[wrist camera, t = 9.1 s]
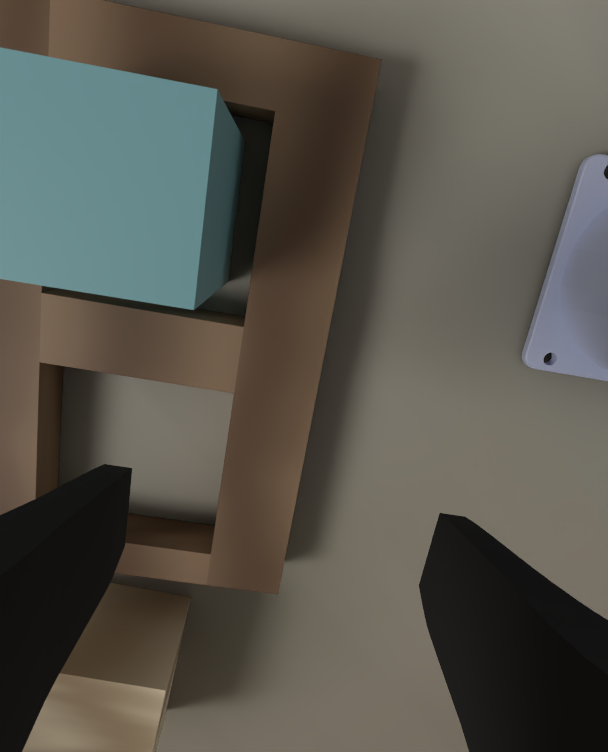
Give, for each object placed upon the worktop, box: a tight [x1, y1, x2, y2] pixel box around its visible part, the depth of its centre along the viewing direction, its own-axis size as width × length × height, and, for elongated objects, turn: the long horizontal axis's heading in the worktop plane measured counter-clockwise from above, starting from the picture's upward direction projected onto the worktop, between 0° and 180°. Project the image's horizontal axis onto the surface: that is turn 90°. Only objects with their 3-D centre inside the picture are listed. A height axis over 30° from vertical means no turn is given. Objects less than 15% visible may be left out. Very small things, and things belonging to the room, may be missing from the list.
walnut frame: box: [0, 0, 382, 594], centre depth 19 cm, size 13×20×2 cm, turn 170°
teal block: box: [0, 47, 245, 310], centre depth 15 cm, size 5×5×7 cm
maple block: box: [22, 583, 191, 752], centre depth 22 cm, size 5×5×7 cm
